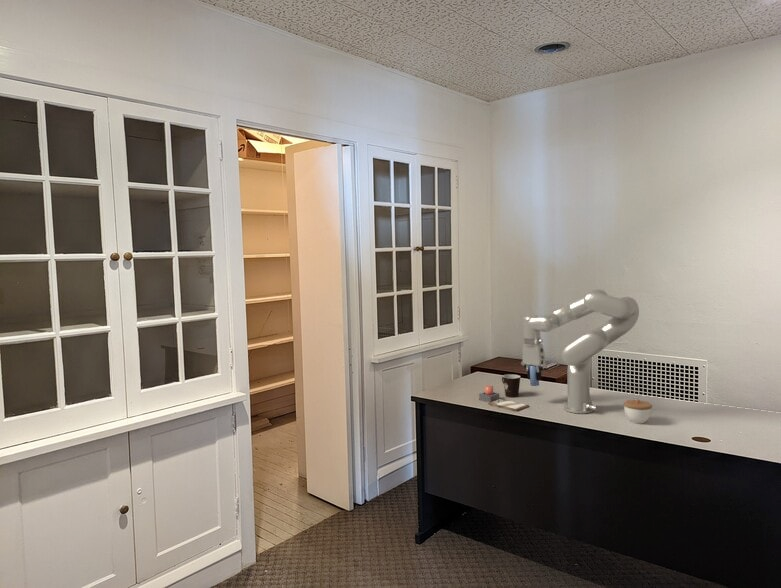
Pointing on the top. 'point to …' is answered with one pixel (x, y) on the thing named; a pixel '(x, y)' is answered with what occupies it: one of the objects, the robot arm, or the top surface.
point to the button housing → (489, 397)
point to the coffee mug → (511, 385)
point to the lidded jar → (637, 411)
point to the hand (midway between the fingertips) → (534, 379)
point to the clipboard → (508, 405)
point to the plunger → (488, 390)
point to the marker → (533, 376)
